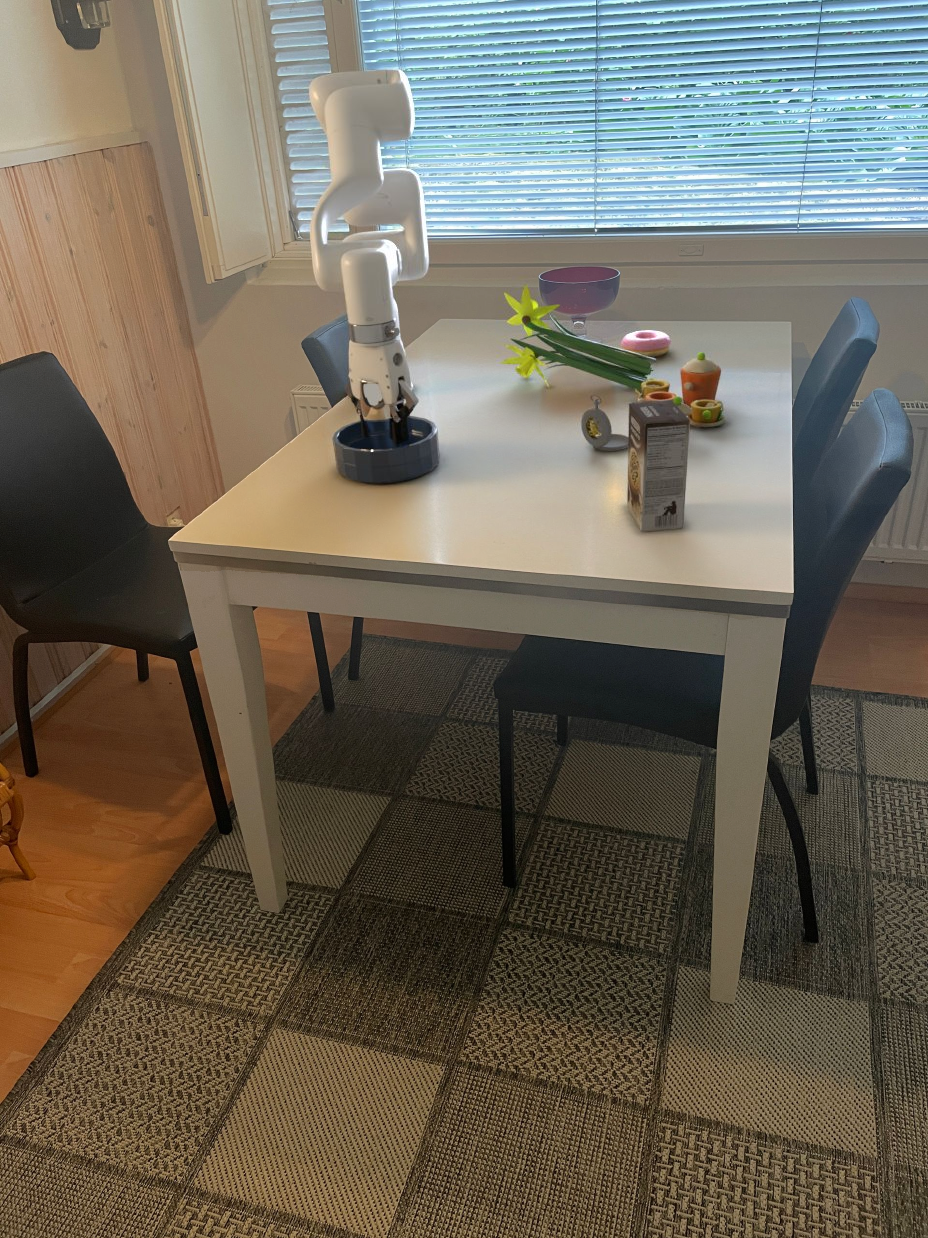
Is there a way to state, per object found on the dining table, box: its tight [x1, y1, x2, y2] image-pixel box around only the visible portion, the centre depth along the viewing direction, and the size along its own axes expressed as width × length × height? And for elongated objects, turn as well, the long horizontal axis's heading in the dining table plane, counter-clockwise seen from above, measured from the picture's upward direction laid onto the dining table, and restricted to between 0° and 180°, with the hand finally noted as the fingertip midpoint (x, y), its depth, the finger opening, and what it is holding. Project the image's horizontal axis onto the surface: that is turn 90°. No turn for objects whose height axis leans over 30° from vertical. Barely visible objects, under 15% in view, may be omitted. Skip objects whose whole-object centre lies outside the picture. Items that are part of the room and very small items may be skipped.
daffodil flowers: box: [501, 284, 657, 392], centre depth 192 cm, size 17×15×35 cm
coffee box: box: [626, 400, 691, 533], centre depth 133 cm, size 9×6×16 cm
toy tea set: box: [635, 352, 726, 428], centre depth 171 cm, size 26×16×10 cm, turn 176°
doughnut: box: [620, 329, 672, 358], centre depth 210 cm, size 11×11×4 cm
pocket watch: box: [580, 394, 628, 452], centre depth 160 cm, size 8×8×10 cm
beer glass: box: [359, 378, 402, 450], centre depth 158 cm, size 7×7×15 cm
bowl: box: [331, 415, 441, 485], centre depth 160 cm, size 18×18×6 cm
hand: (385, 437), depth 159 cm, fingers open, 6 cm apart
